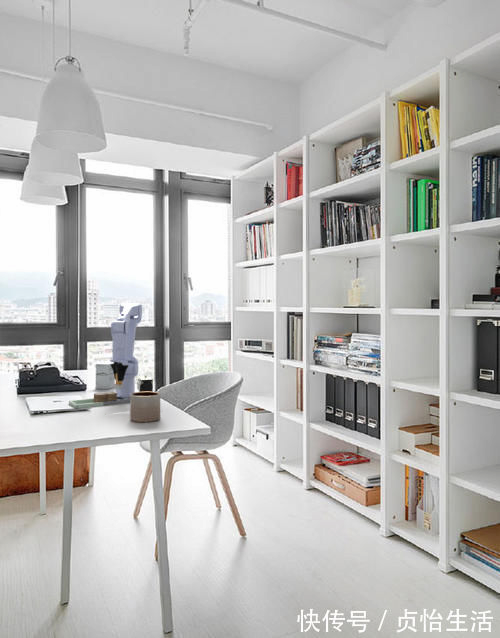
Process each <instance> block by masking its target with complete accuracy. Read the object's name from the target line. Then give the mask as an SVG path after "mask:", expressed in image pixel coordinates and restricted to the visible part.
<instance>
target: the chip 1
mask: <svg viewBox="0 0 500 638" xmlns="http://www.w3.org/2000/svg"><path fill="white" fill-rule="evenodd" d="M105 393H106V392H98V393H93V398H94V403H98V402H101V401H106V397H107V394H105Z"/></svg>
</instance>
